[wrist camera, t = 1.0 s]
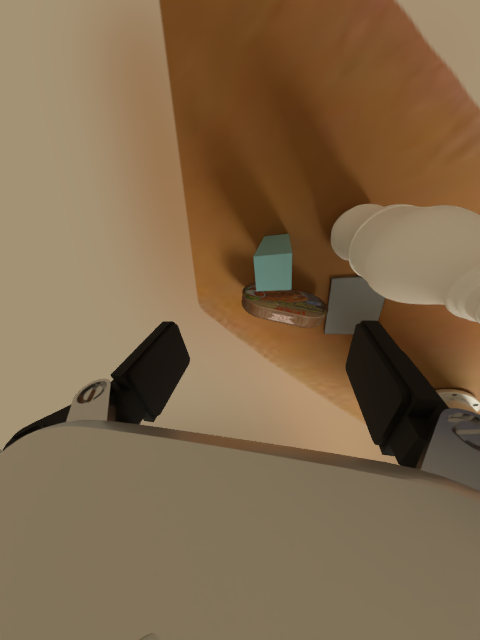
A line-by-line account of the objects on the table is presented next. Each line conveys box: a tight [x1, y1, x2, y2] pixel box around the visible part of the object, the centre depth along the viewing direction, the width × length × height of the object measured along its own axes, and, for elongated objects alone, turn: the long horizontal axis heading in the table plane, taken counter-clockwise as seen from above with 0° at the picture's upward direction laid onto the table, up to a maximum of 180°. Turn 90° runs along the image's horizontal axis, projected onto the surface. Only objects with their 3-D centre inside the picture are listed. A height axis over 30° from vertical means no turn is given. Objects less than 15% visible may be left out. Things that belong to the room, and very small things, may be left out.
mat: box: [324, 276, 385, 334], centre depth 34 cm, size 12×9×1 cm
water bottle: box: [331, 204, 480, 324], centre depth 18 cm, size 7×7×25 cm
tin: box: [242, 283, 328, 328], centre depth 32 cm, size 15×3×8 cm, turn 82°
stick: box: [253, 234, 292, 291], centre depth 26 cm, size 4×4×14 cm
